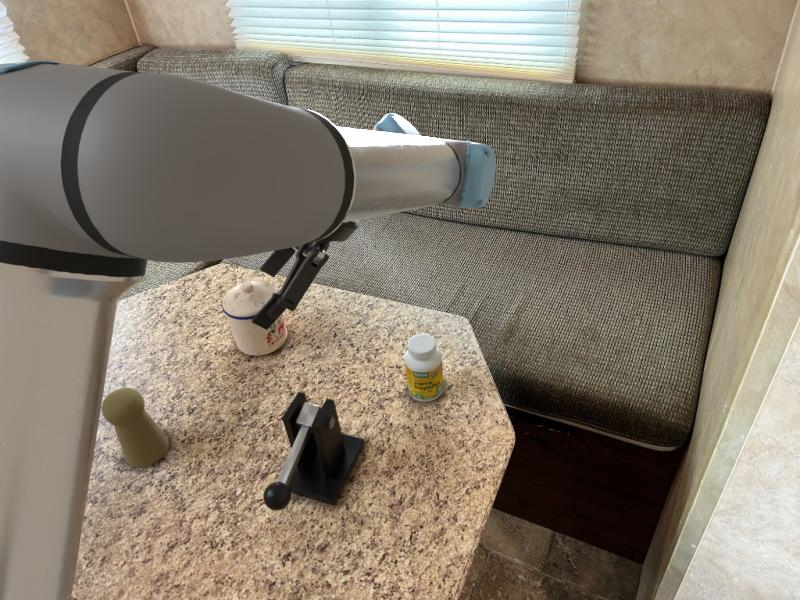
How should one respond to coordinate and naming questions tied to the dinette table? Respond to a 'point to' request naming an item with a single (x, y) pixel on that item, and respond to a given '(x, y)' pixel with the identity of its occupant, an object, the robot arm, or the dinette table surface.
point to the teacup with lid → (241, 311)
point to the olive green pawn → (134, 427)
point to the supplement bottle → (424, 368)
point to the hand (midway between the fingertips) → (263, 297)
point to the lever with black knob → (291, 461)
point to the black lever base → (321, 453)
